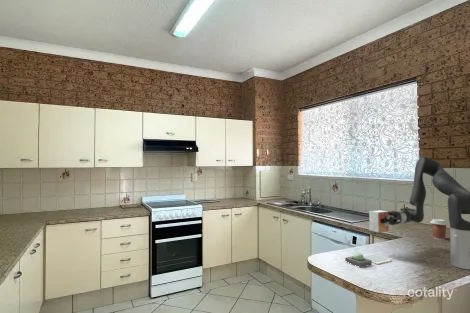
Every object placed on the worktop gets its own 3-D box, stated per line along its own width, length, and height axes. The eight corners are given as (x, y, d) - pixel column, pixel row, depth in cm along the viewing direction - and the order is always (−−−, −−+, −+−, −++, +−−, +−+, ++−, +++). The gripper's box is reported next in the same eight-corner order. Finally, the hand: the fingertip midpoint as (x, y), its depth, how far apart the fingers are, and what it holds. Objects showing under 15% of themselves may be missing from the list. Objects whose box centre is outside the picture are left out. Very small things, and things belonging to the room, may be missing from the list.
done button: (365, 260, 128) (365, 255, 128) (359, 262, 126) (359, 256, 126) (357, 257, 132) (357, 252, 132) (351, 259, 130) (351, 254, 130)
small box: (378, 232, 141) (378, 212, 142) (369, 230, 146) (368, 210, 147) (389, 231, 144) (388, 211, 145) (379, 229, 149) (379, 209, 150)
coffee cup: (451, 240, 171) (450, 221, 172) (434, 239, 173) (434, 220, 174) (443, 237, 180) (442, 218, 181) (427, 236, 182) (427, 218, 183)
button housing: (371, 264, 127) (371, 260, 127) (359, 267, 123) (359, 262, 123) (356, 259, 134) (356, 255, 134) (345, 261, 130) (345, 257, 130)
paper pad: (391, 261, 132) (391, 259, 132) (377, 264, 127) (377, 263, 127) (371, 254, 142) (371, 253, 142) (356, 257, 137) (356, 256, 137)
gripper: (383, 208, 159) (363, 210, 151) (408, 212, 146) (388, 214, 138) (383, 221, 158) (364, 224, 151) (408, 226, 146) (389, 229, 138)
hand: (375, 220), depth 144 cm, fingers closed on small box, 6 cm apart
